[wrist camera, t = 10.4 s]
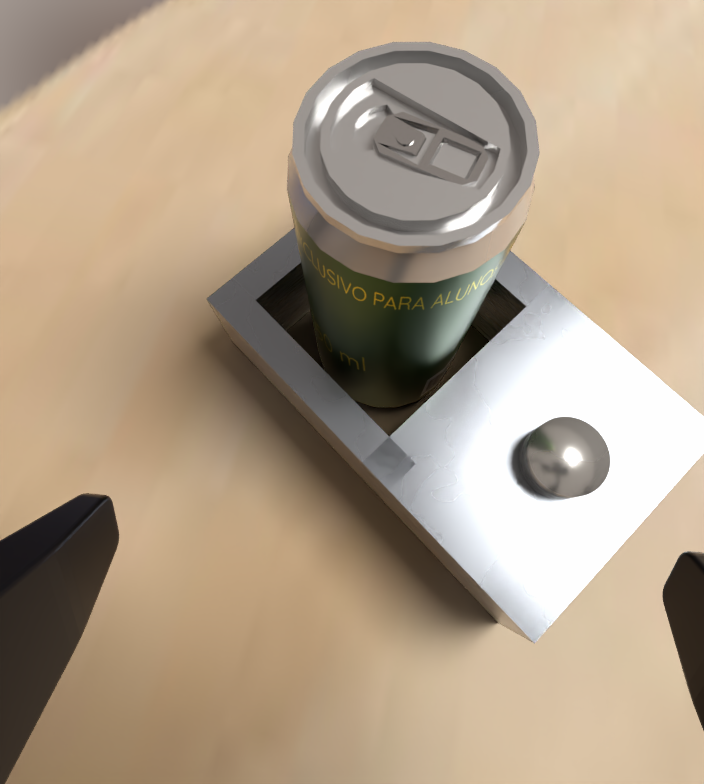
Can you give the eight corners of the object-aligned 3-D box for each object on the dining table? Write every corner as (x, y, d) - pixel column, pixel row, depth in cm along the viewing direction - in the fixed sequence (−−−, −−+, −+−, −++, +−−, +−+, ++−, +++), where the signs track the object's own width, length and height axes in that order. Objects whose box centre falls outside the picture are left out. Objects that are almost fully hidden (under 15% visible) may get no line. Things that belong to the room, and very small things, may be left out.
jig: (653, 452, 21) (743, 425, 16) (498, 623, 19) (546, 650, 14) (386, 212, 24) (393, 128, 19) (232, 341, 22) (197, 285, 17)
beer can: (469, 323, 22) (590, 89, 11) (415, 435, 21) (487, 304, 10) (355, 271, 23) (355, -1, 12) (296, 376, 22) (229, 188, 10)
